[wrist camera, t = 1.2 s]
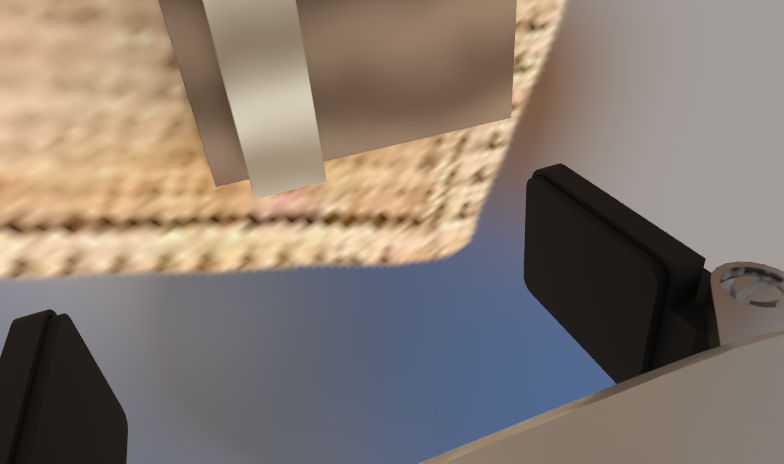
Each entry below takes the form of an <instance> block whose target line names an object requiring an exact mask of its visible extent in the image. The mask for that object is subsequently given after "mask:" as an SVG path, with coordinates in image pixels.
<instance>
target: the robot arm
mask: <svg viewBox="0 0 784 464" xmlns="http://www.w3.org/2000/svg"><path fill="white" fill-rule="evenodd" d="M704 263H705V258H704V257H702V256H701V255H699V254H698V253H696V252H695V251H693V250H692V249H690V248H689V247H687V246H686V245H684V244H683V243H681V242H680V241H678V240H676V239H675V238H674V237H672V236H671V235H669V234H668V233H666V232H664V231H663V230H661V229H660V228H659V227H657V226H656V225H654V224H653V223H651V222H649V221H648V220H646V219H645V218H643V217H642V216H640V215H639V214H637V213H636V212H634V211H633V210H631V209H630V208H628V207H627V206H625V205H624V204H622V203H620V202H619V201H618V200H616V199H615V198H613V197H612V196H610V195H609V194H607V193H606V192H604V191H603V190H601V189H600V188H598V187H597V186H595V185H594V184H592V183H591V182H589V181H588V180H586V179H585V178H583V177H582V176H580V175H579V174H577V173H575V172H574V171H573V170H571V169H570V168H568V167H566V166H565V165H563V164H556V165H552V166H549V167H545V168H542V169H538V170H536V171H535V172H534V173H533V175H532V178H531V179H529V180H528V182H527V186H526V218H525V252H524V280H525V284H526V286H527V288H528V290H529V291H530V292H531V293H532V294H533V296H534V297H535V298H536V299H537V300H538V301H539V302H540V303H541V304H542V305H543V306H544V307H545V308H546V309H547V310H548V311H549V312H550V314H551V315H552V316H553V317H554V318H555V319H556V320H557V321H558V322H559V323H560V324H561V325H562V326H563V327H564V328H565V330H567V332H568V333H569V334H570V335H571V336H572V337H573V338H574V339H575V340H576V341H577V342H578V343H579V344H580V345H581V347H582V348H583V349H584V350H585V351H586V352H587V353H588V354H589V355H590V356H591V357H592V358H593V359H594V360H595V361H596V362H597V363H598V365H599V366H600V367H601V368H602V369H603V370H604V371H605V372H606V373H607V374H608V375H609V376H610V377H611V378H612V379H613V380H614V381H615V383H616V385H614V386H611V387H609V388H606V389H604V390H601V391H599V392H596V393H594V394H591V395H589V396H586V397H584V398H581V399H578V400H576V401H574V402H571V403H568V404H566V405H564V406H561V407H558V408H556V409H553V410H551V411H548V412H546V413H543V414H541V415H538V416H536V417H533V418H531V419H528V420H526V421H523V422H521V423H518V424H516V425H513V426H511V427H508V428H506V429H503V430H501V431H498V432H496V433H493V434H491V435H488V436H486V437H484V438H481V439H479V440H476V441H473V442H471V443H468V444H466V445H464V446H461V447H459V448H456V449H453V450H451V451H449V452H446V453H444V454H441V455H439V456H436V457H434V458H431V459H429V460H426V461H424V462H421V463H419V464H784V272H783V271H781V270H779V269H776V268H773V267H770V266H767V265H764V264H758V263H754V262H732V263H726V264H723V265H721V266H719V267H717V268H716V269H715V270H714V271H713V272H712V273H711V272H709V271H708V270H706V269H705V268H703V267H704ZM127 438H128V425H127V419H126V416H125V413H124V411H123V409H122V407H121V405H120V403H119V402H118V400H117V398H116V396H115V395H114V393H113V391H112V389H111V388H110V386H109V384H108V382H107V381H106V379H105V377H104V376H103V374H102V372H101V370H100V369H99V367H98V365H97V363H96V362H95V360H94V358H93V356H92V355H91V353H90V351H89V350H88V348H87V346H86V344H85V343H84V341H83V339H82V337H81V336H80V334H79V332H78V330H77V329H76V327H75V325H74V323H73V322H72V320H71V319H70V317H69V316H68V315H67V314H65V313H64V314H60V315H57V314H56V313H55V312H54V311H52V310H50V309H49V310H45V311H42V312H38V313H35V314H31V315H28V316H24V317H21V318H17V319H15V320H13V322H12V324H11V327H10V330H9V333H8V336H7V339H6V342H5V345H4V348H3V351H2V354H1V357H0V464H126V459H127V458H126V457H127Z"/></svg>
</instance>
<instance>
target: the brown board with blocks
mask: <svg viewBox="0 0 784 464" xmlns="http://www.w3.org/2000/svg"><path fill="white" fill-rule="evenodd" d="M516 1H517V0H296V5H297V11H298V17H299V23H300V29H301V34H302V40H303V46H304V52H305V58H306V64H307V69H308V75H309V81H310V87H311V93H312V99H313V104H314V110H315V116H316V122H317V128H318V134H319V139H320V145H321V151H322V157H323V162H324V161H328V160H332V159H337V158H341V157H345V156H350V155H354V154H358V153H362V152H367V151H371V150H375V149H379V148H384V147H388V146H392V145H397V144H401V143H405V142H409V141H414V140H418V139H422V138H426V137H431V136H435V135H439V134H444V133H448V132H452V131H456V130H461V129H465V128H469V127H473V126H478V125H482V124H486V123H491V122H495V121H499V120H503V119H508V118H511V108H512V86H513V65H514V43H515V22H516ZM159 3H160V6H161V10H162V13H163V16H164V19H165V23H166V26H167V29H168V32H169V36H170V39H171V42H172V45H173V49H174V52H175V55H176V58H177V62H178V65H179V68H180V71H181V75H182V78H183V81H184V84H185V88H186V91H187V94H188V98H189V101H190V104H191V107H192V111H193V114H194V117H195V120H196V124H197V127H198V130H199V133H200V137H201V140H202V143H203V146H204V150H205V153H206V156H207V159H208V163H209V166H210V169H211V172H212V176H213V179H214V182H215V186H216V187H217V186H221V185H226V184H230V183H234V182H238V181H243V180H247V179H249V176H248V173H247V169H246V166H245V162H244V158H243V154H242V150H241V147H240V143H239V139H238V135H237V132H236V128H235V124H234V120H233V116H232V113H231V109H230V105H229V101H228V98H227V94H226V90H225V86H224V82H223V79H222V75H221V71H220V67H219V63H218V60H217V56H216V52H215V48H214V45H213V41H212V37H211V33H210V29H209V26H208V22H207V18H206V14H205V10H204V7H203V3H202V0H159Z"/></svg>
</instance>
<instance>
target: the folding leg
mask: <svg viewBox="0 0 784 464" xmlns="http://www.w3.org/2000/svg"><path fill="white" fill-rule="evenodd" d="M202 3H203V7H204V10H205V14H206V18H207V22H208V26H209V29H210V33H211V37H212V41H213V45H214V48H215V52H216V56H217V60H218V63H219V67H220V71H221V75H222V79H223V82H224V86H225V90H226V94H227V98H228V101H229V105H230V109H231V113H232V116H233V120H234V124H235V128H236V132H237V135H238V139H239V143H240V147H241V150H242V154H243V158H244V162H245V166H246V169H247V173H248V176H249V179H250V183H251V186H252V190H253V193H254V196H255V199H256V198H260V197H264V196H269V195H273V194H277V193H281V192H285V191H289V190H293V189H297V188H301V187H306V186H310V185H314V184H318V183H322V182H326V181H327V180H326V174H325V169H324V163H323V157H322V151H321V145H320V139H319V134H318V128H317V122H316V116H315V110H314V104H313V99H312V93H311V87H310V81H309V75H308V69H307V64H306V58H305V52H304V46H303V40H302V34H301V29H300V23H299V17H298V11H297V5H296V0H202Z"/></svg>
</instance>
